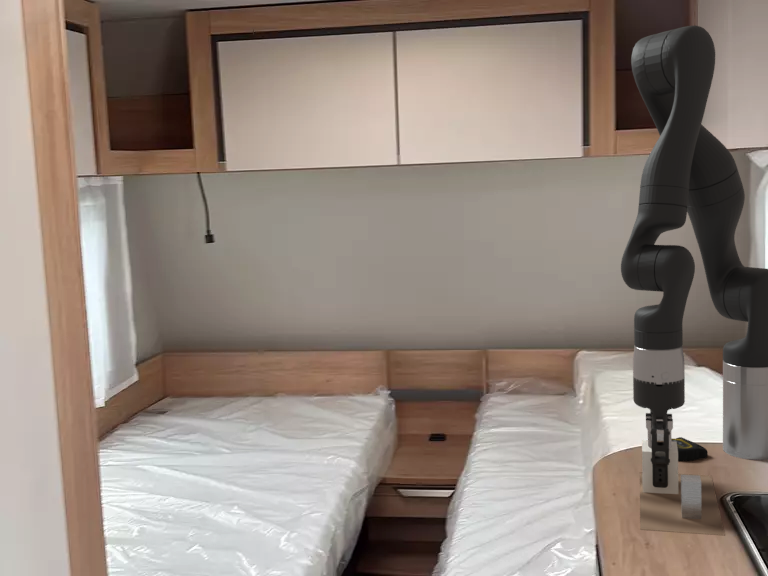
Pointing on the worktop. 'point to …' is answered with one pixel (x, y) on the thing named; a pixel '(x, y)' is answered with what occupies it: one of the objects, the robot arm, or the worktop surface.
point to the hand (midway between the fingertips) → (659, 479)
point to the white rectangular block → (648, 474)
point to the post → (691, 496)
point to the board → (667, 516)
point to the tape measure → (689, 450)
